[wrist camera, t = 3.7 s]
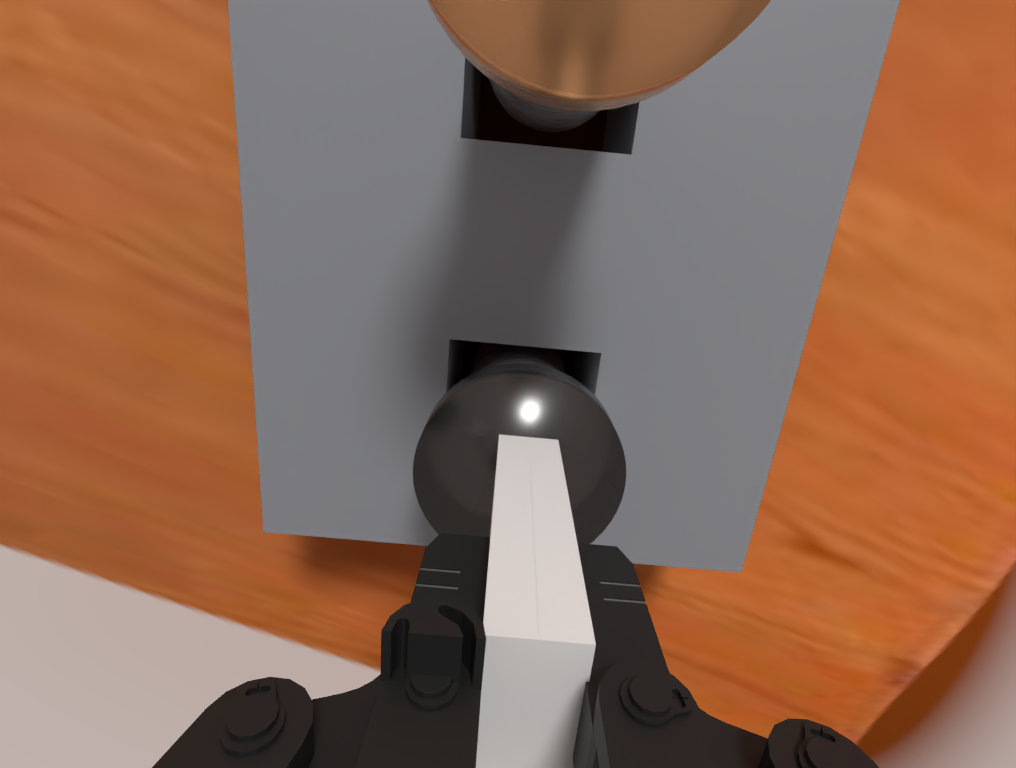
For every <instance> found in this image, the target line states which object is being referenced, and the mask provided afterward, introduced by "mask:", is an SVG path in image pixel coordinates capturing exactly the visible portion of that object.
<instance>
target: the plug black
mask: <svg viewBox="0 0 1016 768" xmlns="http://www.w3.org/2000/svg"><path fill="white" fill-rule="evenodd" d="M499 434H500V435H511V436H522V437H533V438H544V439H555V440H558V441H559V446H560V452H561V457H562V462H563V468H564V473H565V479H566V484H567V490H568V495H569V501H570V506H571V512H572V517H573V522H574V528H575V533H576V539H577V543H583V544H590V543H592V542H593V541H594V540H595V539H596V538H597V537H598V536H599V535H600V534H601V533H602V532H603V531H604V530H605V529H606V527H607V526H608V525H609V524H610V522H611V521H612V519H613V517H614V516H615V514H616V512H617V510H618V508H619V505H620V503H621V501H622V497H623V493H624V490H625V483H626V461H625V455H624V450H623V447H622V444H621V441H620V439H619V436H618V434H617V432H616V430H615V428H614V425H613V423H612V421H611V419H610V417H609V415H608V413H607V411H606V410H605V408H604V407H603V405H602V404H601V402H600V401H599V400H598V398H597V397H596V396H595V395H594V394H593V393H592V392H591V391H590V390H589V389H588V388H586V387H585V386H584V385H583V384H581V383H580V382H579V381H577V380H576V379H574V378H572V377H571V376H569V375H567V374H566V372H565V369H564V366H563V363H562V360H561V357H560V355H559V353H558V351H557V350H556V349H552V348H541V347H530V346H519V345H508V344H497V343H486V342H485V343H484V344H483V345H482V346H481V347H480V348H479V350H478V352H477V353H476V355H475V358H474V360H473V364H472V367H471V371H470V374H469V376H468V377H466V378H464V379H463V380H461V381H460V382H458V383H457V384H456V385H454V386H453V387H452V388H451V389H450V390H449V391H448V392H446V393H445V394H444V395H443V397H442V398H441V399H440V400H439V402H438V403H437V404H436V405H435V407H434V409H433V410H432V412H431V414H430V416H429V418H428V420H427V423H426V425H425V427H424V430H423V432H422V434H421V437H420V439H419V441H418V444H417V447H416V451H415V455H414V462H413V483H414V489H415V494H416V497H417V500H418V503H419V506H420V508H421V510H422V512H423V514H424V516H425V518H426V519H427V521H428V522H429V523H430V525H431V526H432V528H433V529H434V530H435V531H436V532H437V533H438V534H440V533H449V534H460V535H472V536H483V537H490V527H491V516H492V506H493V495H494V484H495V473H496V462H497V451H498V441H499Z"/></svg>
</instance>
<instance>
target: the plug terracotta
mask: <svg viewBox="0 0 1016 768" xmlns="http://www.w3.org/2000/svg"><path fill="white" fill-rule="evenodd" d="M770 1H771V0H427V2H428V4H429V6H430V8H431V10H432V12H433V14H434V16H435V17H436V19H437V20H438V22H439V23H440V25H441V27H442V28H443V30H444V31H445V33H446V34H447V36H448V37H449V39H450V40H451V41H452V42H453V43H454V45H455V46H456V47H457V48H458V49H459V50H460V52H461V53H462V54H463V55H464V56H465V58H466V59H467V60H468V61H470V62H471V63H472V64H473V65H474V66H475V67H476V68H477V69H478V70H480V71H481V72H482V73H483V74H484V75H485V76H487V77H488V78H489V81H490V84H491V86H492V89H493V91H494V93H495V95H496V97H497V99H498V100H499V102H500V103H501V105H502V106H503V107H504V109H505V110H506V111H507V112H508V113H509V114H510V115H511V116H512V117H513V118H514V119H516V120H517V121H519V122H520V123H522V124H524V125H526V126H528V127H530V128H533V129H536V130H540V131H546V132H559V131H565V130H569V129H573V128H575V127H577V126H580V125H582V124H583V123H585V122H587V121H589V120H590V119H591V118H592V117H594V116H595V115H596V114H597V113H598V112H599V111H600V110H607V109H615V108H619V107H623V106H627V105H631V104H634V103H638V102H641V101H643V100H646V99H648V98H650V97H653V96H655V95H657V94H660V93H662V92H664V91H665V90H667V89H669V88H670V87H672V86H674V85H676V84H677V83H679V82H681V81H682V80H684V79H685V78H686V77H688V76H689V75H690V74H692V73H693V72H694V71H695V70H697V69H698V68H699V67H701V66H702V65H703V64H705V63H706V62H707V61H708V60H710V59H711V58H712V57H713V56H715V55H716V54H717V53H718V52H720V51H721V50H722V49H723V48H725V47H726V46H727V45H728V44H730V43H731V42H732V41H733V40H735V39H736V38H737V37H738V36H739V35H740V34H741V33H742V32H743V31H744V30H745V29H746V28H747V27H748V26H749V25H750V24H751V23H752V22H753V21H754V20H755V19H756V18H757V17H758V16H759V15H760V13H761V12H762V11H763V10H764V9H765V7H766V6H767V5H768V4H769V2H770Z"/></svg>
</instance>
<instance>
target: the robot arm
mask: <svg viewBox="0 0 1016 768" xmlns="http://www.w3.org/2000/svg"><path fill="white" fill-rule="evenodd" d="M152 768H879V767H878V766H877V765H876V764H875V763H874V761H873V760H871V759H870V758H869V757H868V756H867V755H866V754H865V753H864V752H863V751H862V750H861V749H860V748H859V747H858V746H857V745H855V744H854V743H853V742H852V741H850V740H849V739H847V738H846V737H844V736H843V735H841V734H839V733H838V732H836V731H835V730H833V729H831V728H830V727H827V726H824V725H821V724H819V723H816V722H813V721H810V720H806V719H787V720H784V721H782V722H780V723H778V724H776V725H774V727H773V729H772V731H771V733H770V735H769V737H768V739H767V738H765V737H762V736H759V735H757V734H754V733H751V732H749V731H746V730H743V729H741V728H738V727H735V726H733V725H730V724H727V723H725V722H723V721H721V720H718V719H716V718H714V717H712V716H710V715H708V714H707V713H705V712H704V711H703V710H701V709H700V708H699V707H698V705H697V704H696V702H695V700H694V698H693V697H692V695H691V693H690V691H689V690H688V689H687V688H686V687H685V686H684V685H683V684H682V683H681V682H680V681H679V680H678V679H677V678H676V677H675V676H673V675H671V674H670V673H669V671H668V668H667V665H666V662H665V659H664V656H663V653H662V650H661V647H660V644H659V641H658V638H657V635H656V632H655V629H654V626H653V623H652V620H651V617H650V614H649V611H648V608H647V605H645V599H644V596H643V593H642V590H641V588H640V587H639V581H638V578H637V575H636V572H635V569H634V566H633V563H632V562H631V561H630V560H629V559H628V558H627V557H626V556H625V555H624V554H623V552H622V551H621V550H620V549H619V548H618V547H617V546H606V545H595V544H583V543H577V539H576V533H575V528H574V522H573V517H572V512H571V506H570V501H569V495H568V490H567V484H566V479H565V473H564V468H563V462H562V457H561V452H560V446H559V441H558V440H555V439H544V438H533V437H522V436H511V435H500V434H499V441H498V451H497V462H496V473H495V484H494V495H493V506H492V516H491V527H490V537H483V536H472V535H460V534H449V533H440V534H439V535H438V536H437V537H436V538H435V539H434V540H433V541H432V542H431V543H430V544H429V545H428V546H427V547H426V549H425V552H424V556H423V560H422V563H421V567H420V570H419V574H418V578H417V581H416V587H415V589H414V592H413V596H412V600H411V603H409V604H407V605H404V606H403V607H402V608H400V609H399V610H398V611H396V612H395V613H394V614H392V615H391V616H390V617H389V619H388V621H387V622H386V624H385V626H384V627H383V629H382V635H381V674H380V675H379V676H378V677H377V678H376V679H374V680H373V681H371V682H370V683H368V684H366V685H364V686H362V687H360V688H358V689H355V690H352V691H348V692H345V693H342V694H337V695H332V696H328V697H323V698H318V699H313V700H311V698H310V697H309V695H308V693H307V691H306V690H305V688H303V687H302V686H300V685H299V684H297V683H295V682H294V681H292V680H290V679H283V678H275V677H267V678H262V679H257V680H253V681H248V682H246V683H244V684H242V685H240V686H238V687H235V688H233V689H231V690H229V691H227V692H225V693H224V694H223V695H222V696H221V697H220V698H218V699H217V700H216V701H215V702H213V703H212V704H211V705H210V706H209V707H208V708H206V709H205V711H204V712H203V713H202V714H201V715H200V716H199V717H198V718H197V719H196V720H195V721H194V723H193V724H192V725H191V726H190V727H189V728H188V729H187V730H186V731H185V732H184V733H183V735H182V736H181V737H180V738H179V739H178V740H177V741H176V742H175V743H174V744H173V745H172V746H171V748H170V749H169V750H168V751H167V752H166V753H165V754H164V755H163V756H162V758H161V759H160V760H159V761H158V762H157V763H156V764H155V765H154V766H153V767H152Z"/></svg>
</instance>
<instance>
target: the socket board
mask: <svg viewBox="0 0 1016 768" xmlns="http://www.w3.org/2000/svg"><path fill="white" fill-rule="evenodd" d="M899 2H900V0H771V1H770V2H769V4H768V5H767V6H766V7H765V9H764V10H763V11H762V12H761V13H760V15H759V16H758V17H757V18H756V19H755V20H754V21H753V22H752V23H751V24H750V25H749V26H748V27H747V28H746V29H745V30H744V31H743V32H742V33H741V34H740V35H739V36H738V37H737V38H736V39H735V40H733V41H732V42H731V43H730V44H728V45H727V46H726V47H725V48H723V49H722V50H721V51H720V52H718V53H717V54H716V55H715V56H713V57H712V58H711V59H710V60H708V61H707V62H706V63H705V64H703V65H702V66H701V67H699V68H698V69H697V70H695V71H694V72H693V73H692V74H690V75H689V76H688V77H686V78H685V79H684V80H682V81H681V82H679V83H677V84H676V85H674V86H672V87H670V88H669V89H667V90H665V91H664V92H662V93H660V94H657V95H655V96H653V97H650V98H648V99H646V100H643V101H641V102H638V103H634V104H631V105H627V106H623V107H619V108H615V109H608V112H607V120H606V127H605V134H604V142H603V149H602V152H599V151H589V150H579V149H568V148H558V147H548V146H538V145H527V144H517V143H507V142H497V141H486V140H477V130H478V114H479V99H480V84H481V71H480V70H478V69H477V68H476V67H475V66H474V65H473V64H472V63H471V62H470V61H468V60H467V59H466V58H465V56H464V55H463V54H462V53H461V52H460V50H459V49H458V48H457V47H456V46H455V45H454V43H453V42H452V41H451V40H450V39H449V37H448V36H447V34H446V33H445V31H444V30H443V28H442V27H441V25H440V23H439V22H438V20H437V19H436V17H435V16H434V14H433V12H432V10H431V8H430V6H429V4H428V2H427V0H228V9H229V24H230V39H231V54H232V69H233V84H234V99H235V114H236V129H237V143H238V158H239V173H240V188H241V203H242V218H243V233H244V248H245V263H246V278H247V292H248V307H249V322H250V337H251V352H252V367H253V382H254V397H255V412H256V427H257V441H258V456H259V471H260V486H261V501H262V516H263V531H264V532H268V533H280V534H292V535H304V536H315V537H327V538H339V539H351V540H363V541H374V542H386V543H398V544H410V545H422V546H428V545H429V544H430V543H431V542H432V541H433V540H434V539H435V538H436V537H437V536H438V535H439V534H438V533H437V532H436V531H435V530H434V529H433V528H432V526H431V525H430V523H429V522H428V521H427V519H426V518H425V516H424V514H423V512H422V510H421V508H420V506H419V503H418V500H417V497H416V494H415V489H414V483H413V462H414V455H415V451H416V447H417V444H418V441H419V439H420V437H421V434H422V432H423V430H424V427H425V425H426V423H427V420H428V418H429V416H430V414H431V412H432V410H433V409H434V407H435V405H436V404H437V403H438V402H439V400H440V399H441V398H442V397H443V395H444V394H445V393H446V392H448V391H449V390H450V389H451V388H452V387H453V386H454V385H456V384H457V383H458V382H460V381H461V375H462V360H463V344H464V341H475V342H486V343H497V344H508V345H519V346H530V347H541V348H552V349H563V350H574V351H575V356H574V363H573V371H572V378H574V379H576V380H577V381H579V382H580V383H581V384H583V385H584V386H585V387H586V388H588V389H589V390H590V391H591V392H592V393H593V394H594V395H595V396H596V397H597V398H598V400H599V401H600V402H601V404H602V405H603V407H604V408H605V410H606V411H607V413H608V415H609V417H610V419H611V421H612V423H613V425H614V428H615V430H616V432H617V434H618V436H619V439H620V441H621V444H622V447H623V450H624V455H625V461H626V483H625V490H624V493H623V497H622V501H621V503H620V505H619V508H618V510H617V512H616V514H615V516H614V517H613V519H612V521H611V522H610V524H609V525H608V526H607V527H606V529H605V530H604V531H603V532H602V533H601V534H600V535H599V536H598V537H597V538H596V539H595V540H594V541H593V542H592V543H590V544H595V545H606V546H617V547H618V548H619V549H620V550H621V551H622V552H623V554H624V555H625V556H626V557H627V558H628V559H629V560H630V561H631V562H632V563H634V564H646V565H658V566H670V567H681V568H693V569H705V570H717V571H729V572H741V571H742V567H743V564H744V560H745V556H746V553H747V549H748V546H749V542H750V538H751V535H752V531H753V528H754V524H755V520H756V517H757V513H758V510H759V506H760V502H761V499H762V495H763V492H764V488H765V484H766V481H767V477H768V473H769V470H770V466H771V463H772V459H773V455H774V452H775V448H776V445H777V441H778V437H779V434H780V430H781V427H782V423H783V419H784V416H785V412H786V409H787V405H788V401H789V398H790V394H791V391H792V387H793V383H794V380H795V376H796V373H797V369H798V365H799V362H800V358H801V355H802V351H803V347H804V344H805V340H806V337H807V333H808V329H809V326H810V322H811V319H812V315H813V311H814V308H815V304H816V301H817V297H818V293H819V290H820V286H821V283H822V279H823V275H824V272H825V268H826V265H827V261H828V257H829V254H830V250H831V247H832V243H833V239H834V236H835V232H836V229H837V225H838V221H839V218H840V214H841V211H842V207H843V203H844V200H845V196H846V193H847V189H848V185H849V182H850V178H851V175H852V171H853V167H854V164H855V160H856V157H857V153H858V149H859V146H860V142H861V139H862V135H863V131H864V128H865V124H866V121H867V117H868V113H869V110H870V106H871V103H872V99H873V95H874V92H875V88H876V84H877V81H878V77H879V74H880V70H881V66H882V63H883V59H884V56H885V52H886V48H887V45H888V41H889V38H890V34H891V30H892V27H893V23H894V20H895V16H896V12H897V9H898V5H899Z"/></svg>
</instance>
